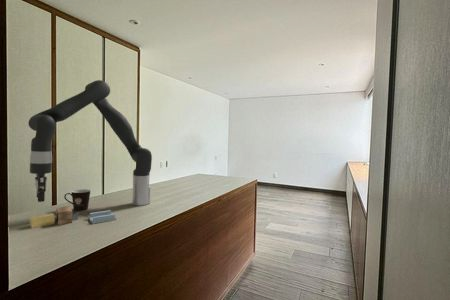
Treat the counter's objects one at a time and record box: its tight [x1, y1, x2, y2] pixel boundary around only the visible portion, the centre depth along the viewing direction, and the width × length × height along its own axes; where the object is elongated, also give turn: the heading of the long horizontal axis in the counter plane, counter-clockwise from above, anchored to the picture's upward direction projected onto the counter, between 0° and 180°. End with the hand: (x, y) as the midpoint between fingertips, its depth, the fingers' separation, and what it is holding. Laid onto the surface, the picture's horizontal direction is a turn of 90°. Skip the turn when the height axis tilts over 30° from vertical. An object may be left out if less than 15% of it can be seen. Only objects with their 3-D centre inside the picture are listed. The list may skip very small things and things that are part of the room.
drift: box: [55, 211, 79, 225], centre depth 110 cm, size 9×3×3 cm, turn 140°
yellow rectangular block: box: [29, 213, 56, 229], centre depth 104 cm, size 8×4×4 cm, turn 138°
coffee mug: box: [63, 188, 91, 212], centre depth 127 cm, size 12×9×10 cm
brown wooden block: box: [55, 205, 73, 226], centre depth 109 cm, size 5×8×6 cm, turn 41°
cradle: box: [88, 209, 117, 225], centre depth 114 cm, size 10×8×3 cm
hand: (40, 199), depth 103 cm, fingers open, 8 cm apart
